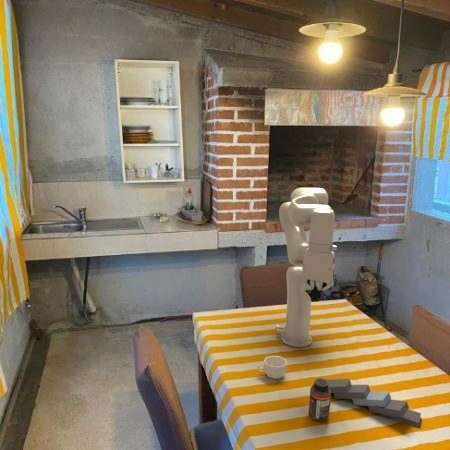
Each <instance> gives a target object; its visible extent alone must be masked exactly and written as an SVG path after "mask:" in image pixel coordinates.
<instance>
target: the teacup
mask: <svg viewBox="0 0 450 450" xmlns="http://www.w3.org/2000/svg"><path fill="white" fill-rule="evenodd" d="M287 366H288V360H287V359H286V358H284V357H283V356H281V355H269V356H266V357H265V358H264V362H263V363H260V364H259V365H258V366H257V370H258V371H259V372H261V373H264V374H266V376H267V377H269V378H270V379H272V380H273V379H274V380H278V379H282V378H283V377H284V376H285V375H286V373H287ZM260 367H263V369H260Z"/></svg>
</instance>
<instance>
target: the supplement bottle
mask: <svg viewBox="0 0 450 450" xmlns="http://www.w3.org/2000/svg"><path fill="white" fill-rule="evenodd" d="M326 380H327V379H325V378H320V377H319V378H315V379H314V381H313V384H312V385H311V387H310V388H309V389H310V390H309V402H308V415H309V418H311V420H313V421H316V422H320V423H321V422H325V421H327V420H329V416H330V411H331V410H330V407H331V398H332V397H331V396H332V393H331V391H330V389H329V387H328V382H327V381H326Z"/></svg>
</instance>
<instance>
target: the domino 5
mask: <svg viewBox="0 0 450 450" xmlns="http://www.w3.org/2000/svg"><path fill="white" fill-rule="evenodd" d="M381 415H382V416H384V417H386V418H387V417H388V418H391V419H394V420H396V421H400V422H401V423H402V422H403V423H405V424H408V425H411V426H413V427H418V428H419V426H420V420H421V412H417V411H415V410H412V409H410V408H409V409H408V410H407V411H406V413H405V414H404V415H403V417H397V416H391V415H385V414H381Z"/></svg>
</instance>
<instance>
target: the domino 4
mask: <svg viewBox="0 0 450 450" xmlns="http://www.w3.org/2000/svg"><path fill="white" fill-rule="evenodd" d="M408 409H409V410H410V405H409V404H408V401H406V400H400V399H399V400H398V399H392V398H391V399H390V401H389V402H388V403H387V405H386V406H385V407H379V406H368V410H369V413H374V414H379V415H382V414H385V415H391V416H397V417H403V415H404V414H405V413H406V411H407V410H408Z"/></svg>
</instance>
